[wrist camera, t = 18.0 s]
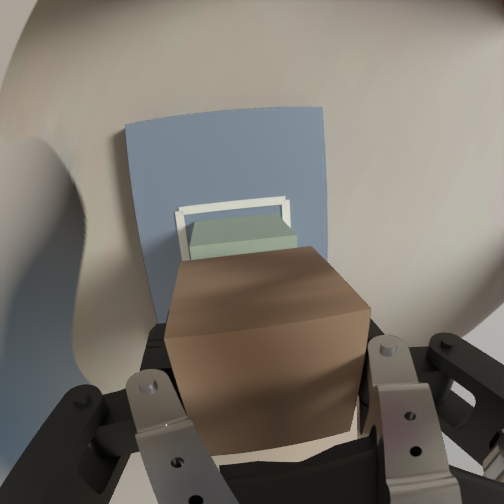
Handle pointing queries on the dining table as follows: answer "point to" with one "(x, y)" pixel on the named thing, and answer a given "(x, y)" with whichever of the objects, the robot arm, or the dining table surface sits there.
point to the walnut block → (266, 348)
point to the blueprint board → (224, 180)
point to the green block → (240, 236)
